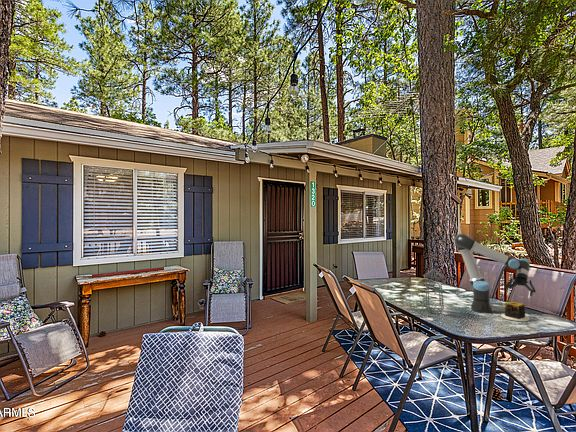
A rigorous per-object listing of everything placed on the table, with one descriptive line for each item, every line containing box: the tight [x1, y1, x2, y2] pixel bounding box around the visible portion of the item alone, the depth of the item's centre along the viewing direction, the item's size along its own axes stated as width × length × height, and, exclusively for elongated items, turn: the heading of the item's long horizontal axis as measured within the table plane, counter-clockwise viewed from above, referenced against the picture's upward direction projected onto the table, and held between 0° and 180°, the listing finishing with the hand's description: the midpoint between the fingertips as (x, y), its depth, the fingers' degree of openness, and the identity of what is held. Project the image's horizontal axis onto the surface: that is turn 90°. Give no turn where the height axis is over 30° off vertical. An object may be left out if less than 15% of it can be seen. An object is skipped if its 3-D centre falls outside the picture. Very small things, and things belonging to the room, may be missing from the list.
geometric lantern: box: [423, 268, 445, 315], centre depth 267 cm, size 16×16×35 cm
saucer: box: [500, 312, 531, 322], centre depth 250 cm, size 18×18×1 cm
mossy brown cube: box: [504, 301, 526, 319], centre depth 250 cm, size 10×10×10 cm
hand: (518, 297), depth 255 cm, fingers open, 13 cm apart
